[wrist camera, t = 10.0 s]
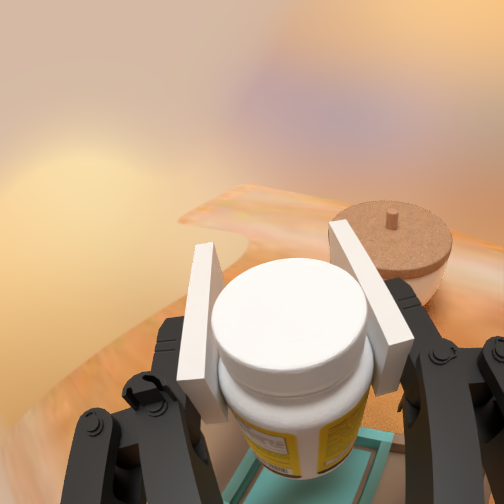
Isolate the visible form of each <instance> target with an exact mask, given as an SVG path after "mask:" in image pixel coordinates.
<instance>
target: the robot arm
mask: <svg viewBox="0 0 504 504" xmlns="http://www.w3.org/2000/svg"><path fill="white" fill-rule="evenodd" d="M329 243H330V264H333V265H335V266H338V267H340V268H341V269H343V270H345V271H346V272H348V273H349V274H350V275H351V276H352V277H353V278H355V280H356V281H357V282H358V283H359V285H360V286H361V288H362V290H363V292H364V294H365V297H366V301H367V308H368V316H367V328H366V335H367V337H368V339H369V342H370V344H371V347H372V352H373V360H374V369H373V376H372V381H371V384H372V387H373V390H374V393H375V396H380V395H384V394H387V393H391V392H394V391H397V389H398V386H399V384H400V382H401V385H402V387H403V390H404V394H403V396H402V399H401V401H400V403H399V406H398V411H397V412H401V410H402V408H403V421H404V439H405V504H485V500H484V483H483V471H482V465H483V468H484V471H485V474H486V477H487V479H488V482H489V485H490V489H491V492H492V495H493V498H494V501H495V504H504V337H500V336H496V337H491V338H490V339H488V340H487V341H486V343H485V344H484V346H483V348H458V347H457V346H456V345H455V344H454V343H453V342H452V341H449V340H447V339H445V338H442V337H441V335H440V334H439V332H438V330H437V329H436V327H435V325H434V323H433V322H432V320H431V318H430V317H429V315H428V313H427V312H426V310H425V308H424V307H423V306H422V303H421V302H420V300H419V299H418V297H416V294H415V292H414V291H413V289H412V287H411V286H410V285H409V284H408V283H406V282H405V281H404V280H402V279H401V278H400V277H398V278H393V279H389V280H384V281H383V279H382V278H381V276H380V274H379V272H378V271H377V269H376V267H375V266H374V264H373V262H372V261H371V259H370V257H369V256H368V254H367V252H366V251H365V249H364V247H363V246H362V244H361V242H360V241H359V239H358V238H357V236H356V234H355V233H354V231H353V230H352V228H351V226H350V225H349V223H348V222H347V220H346V219H344V220H338V221H332V222H329ZM225 287H226V285H225V281H224V278H223V274H222V271H221V267H220V264H219V260H218V257H217V253H216V249H215V246H214V242H209V243H204V244H198V245H196V246H195V252H194V258H193V264H192V270H191V277H190V283H189V289H188V296H187V303H186V310H185V316H181V317H173V318H166V320H165V321H164V323H163V324H162V326H161V327H160V329H159V331H158V336H157V344H156V346H155V353H154V357H153V362H152V367H151V371H147V372H141V373H139V374H136V375H134V376H133V377H132V378H131V379H129V380H128V381H127V383H126V384H125V386H124V388H123V392H122V397H123V398H124V399H125V400H126V402H127V403H128V404H129V405H130V406H131V408H128V409H125V410H122V411H119V412H116V413H112V414H110V413H109V412H107V411H106V410H105V409H102V408H92V409H90V410H88V411H86V412H84V414H83V415H82V416H81V417H80V418H79V420H78V423H77V425H76V429H75V434H74V438H73V442H72V446H71V451H70V455H69V460H68V465H67V470H66V475H65V480H64V486H63V491H62V497H61V503H60V504H146V503H148V504H224V503H223V499H222V496H221V493H220V490H219V486H218V483H217V480H216V476H215V473H214V469H213V466H212V462H211V459H210V455H209V452H208V448H207V444H206V440H205V437H204V435H203V433H202V431H201V419H202V420H203V422H204V423H205V424H219V423H228V404H227V402H226V400H225V398H224V395H223V393H222V390H221V386H220V382H219V375H218V365H219V358H220V354H219V350H218V347H217V344H216V341H215V338H214V335H213V331H212V326H211V316H212V310H213V307H214V304H215V302H216V300H217V298H218V296H219V294H220V293H221V291H222V290H223V289H224V288H225Z"/></svg>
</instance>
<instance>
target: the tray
mask: <svg viewBox="0 0 504 504" xmlns="http://www.w3.org/2000/svg"><path fill="white" fill-rule="evenodd" d="M201 431H202V433H203V435H204V437H205V440H206V444H207V448H208V452H209V455H210V459H211V462H212V466H213V469H214V473H215V476H216V480H217V483H218V486H219V490H220V493H221V496H222V499H223V503H224V504H405V439H404V435H403V434H397V433H391V432H386V431H380V430H375V429H370V428H365V427H361V426H360V428H359V432H358V435H357V439H356V442H355V444H354V447H353V449H352V451H351V453H350V454H349V456H348V457H347V459H346V460H345V461H344V462H343V463H342V464H341V465H339V466H338V467H337V468H336V469H334V470H332V471H331V472H329V473H327V474H325V475H322V476H319V477H316V478H312V479H305V480H296V479H288V478H284V477H281V476H278V475H276V474H274V473H272V472H271V471H269V470H268V469H266V468H265V467H264V466H263V465H262V464H261V463H260V462H259V461H258V459H257V458H256V456H255V455H254V453H253V451H252V449H251V447H250V446H249V444H248V442H247V440H246V438H245V436H244V435H243V433H242V431H241V429H240V427H239V425H238V423H237V421H236V419H235V417H234V415H233V413H232V411H231V409H230V408H229V406H228V423H219V424H205V423H204V422H203V420H202V419H201ZM482 471H483V483H484V500H485V504H488V503H489V498H490V493H491V489H490V485H489V482H488V479H487V477H486V474H485V471H484V468H483V465H482Z"/></svg>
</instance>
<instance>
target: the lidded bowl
mask: <svg viewBox="0 0 504 504" xmlns="http://www.w3.org/2000/svg"><path fill="white" fill-rule="evenodd" d="M344 219H346V220H347V222H348V223H349V225H350V226H351V228H352V230H353V231H354V233H355V234H356V236H357V238H358V239H359V241H360V242H361V244H362V246H363V247H364V249H365V251H366V252H367V254H368V256H369V257H370V259H371V261H372V262H373V264H374V266H375V267H376V269H377V271H378V272H379V274H380V276H381V278H382V279H383V281H384V280H389V279H393V278H398V277H400V278H401V279H402V280H404V281H405V282H406V283H408V284H409V285H410V286H411V287H412V289H413V291H414V292H415V294H416V297H418V299H419V300H420V302H421V303H422V306H424V305H425V304H426V303H427V302H428V301H429V300H430V299H431V298H432V296H433V295H434V294H435V292H436V290H437V288H438V286H439V284H440V282H441V280H442V277H443V275H444V272H445V268H446V264H447V260H448V257H449V255H450V252H451V247H452V235H451V232H450V230H449V228H448V227H447V225H446V224H445V223H444V222H443V220H442V219H441V218H439V217H438V216H437V215H435V214H434V213H432V212H430V211H428V210H426V209H424V208H422V207H419V206H416V205H413V204H409V203H404V202H397V201H371V202H365V203H360V204H357V205H354V206H351V207H349V208H347V209H345V210H343V211H341V212H340V213H339V214H338V215H336V217H335V218H334V219H333V220H332V221H338V220H344ZM332 221H331V222H332ZM328 238H329V230H328ZM329 245H330V243H329Z"/></svg>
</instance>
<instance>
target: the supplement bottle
mask: <svg viewBox="0 0 504 504" xmlns="http://www.w3.org/2000/svg"><path fill="white" fill-rule="evenodd" d="M367 316H368V308H367V301H366V297H365V294H364V292H363V290H362V288H361V286H360V285H359V283H358V282H357V281H356V280H355V278H353V277H352V276H351V275H350V274H349V273H348V272H346V271H345V270H343V269H341V268H340V267H338V266H335V265H333V264H330V263H327V262H324V261H320V260H316V259H307V258H289V259H280V260H275V261H271V262H267V263H264V264H261V265H258V266H256V267H253V268H251V269H249V270H247V271H245V272H244V273H242V274H240V275H239V276H237V277H236V278H235V279H233V280H232V281H231V282H230V283H229V284H228V285H227V286H226V287H225V288H224V289H223V290H222V291H221V293H220V294H219V296H218V298H217V300H216V302H215V304H214V307H213V310H212V316H211V326H212V331H213V335H214V338H215V341H216V344H217V347H218V350H219V354H220V358H219V365H218V375H219V382H220V386H221V390H222V393H223V395H224V398H225V400H226V402H227V404H228V406H229V408H230V409H231V411H232V413H233V415H234V417H235V419H236V421H237V423H238V425H239V427H240V429H241V431H242V433H243V435H244V436H245V438H246V440H247V442H248V444H249V446H250V447H251V449H252V451H253V453H254V455H255V456H256V458H257V459H258V461H259V462H260V463H261V464H262V465H263V466H264V467H265V468H266V469H268V470H269V471H271V472H272V473H274V474H276V475H278V476H281V477H284V478H288V479H296V480H305V479H312V478H316V477H319V476H322V475H325V474H327V473H329V472H331V471H332V470H334V469H336V468H337V467H338V466H339V465H341V464H342V463H343V462H344V461H345V460H346V459H347V457H348V456H349V454H350V453H351V451H352V449H353V447H354V444H355V442H356V439H357V435H358V432H359V428H360V425H361V421H362V417H363V414H364V410H365V406H366V402H367V398H368V394H369V389H370V385H371V381H372V376H373V369H374V360H373V352H372V347H371V344H370V342H369V339H368V337H367V335H366V328H367Z"/></svg>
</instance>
